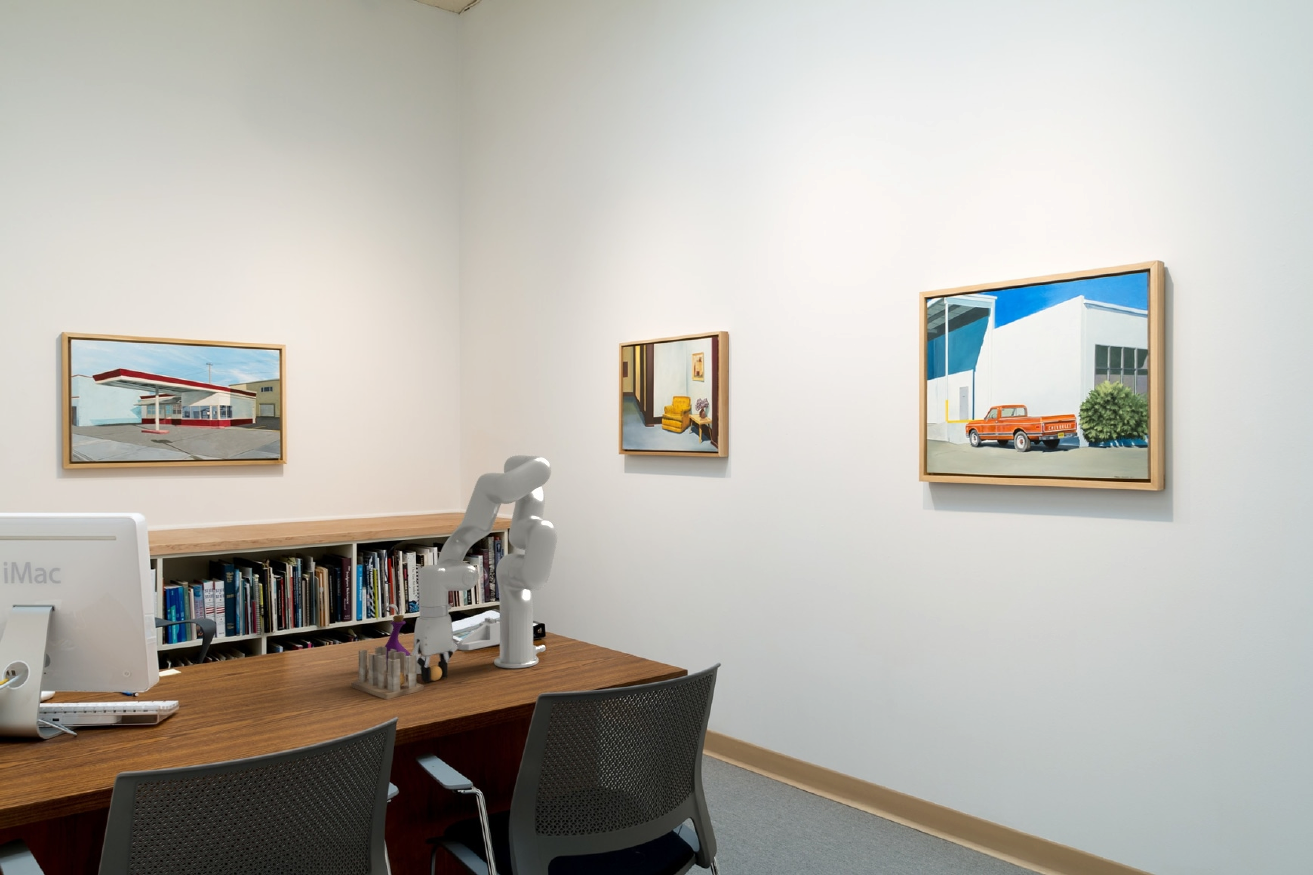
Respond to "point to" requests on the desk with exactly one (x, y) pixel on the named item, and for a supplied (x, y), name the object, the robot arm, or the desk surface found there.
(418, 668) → the card
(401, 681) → the seated orange ball
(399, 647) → the purple potion bottle
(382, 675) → the ball rack
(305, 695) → the desk surface
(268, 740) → the desk surface
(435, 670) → the orange ball
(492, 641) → the sloped support bracket
